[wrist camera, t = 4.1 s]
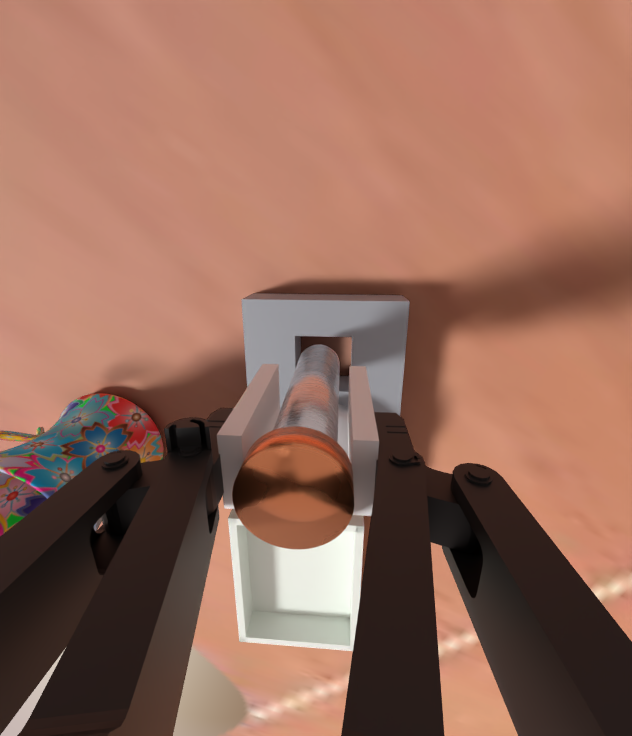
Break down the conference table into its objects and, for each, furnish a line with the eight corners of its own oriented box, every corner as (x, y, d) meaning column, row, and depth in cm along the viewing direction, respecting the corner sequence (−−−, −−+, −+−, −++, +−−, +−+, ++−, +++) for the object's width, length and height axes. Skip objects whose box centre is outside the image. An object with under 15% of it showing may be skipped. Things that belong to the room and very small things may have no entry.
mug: (191, 422, 28) (106, 518, 18) (149, 503, 31) (54, 625, 21) (49, 344, 27) (-128, 401, 17) (18, 436, 30) (-148, 531, 20)
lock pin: (289, 335, 20) (227, 446, 9) (349, 336, 20) (356, 451, 9) (290, 390, 22) (236, 546, 11) (347, 391, 21) (352, 552, 10)
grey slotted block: (253, 293, 24) (227, 306, 19) (402, 295, 24) (419, 309, 18) (262, 469, 29) (243, 520, 23) (387, 475, 28) (398, 530, 23)
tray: (239, 492, 30) (227, 518, 27) (362, 499, 29) (364, 526, 26) (248, 608, 34) (239, 641, 31) (356, 617, 33) (357, 651, 30)
